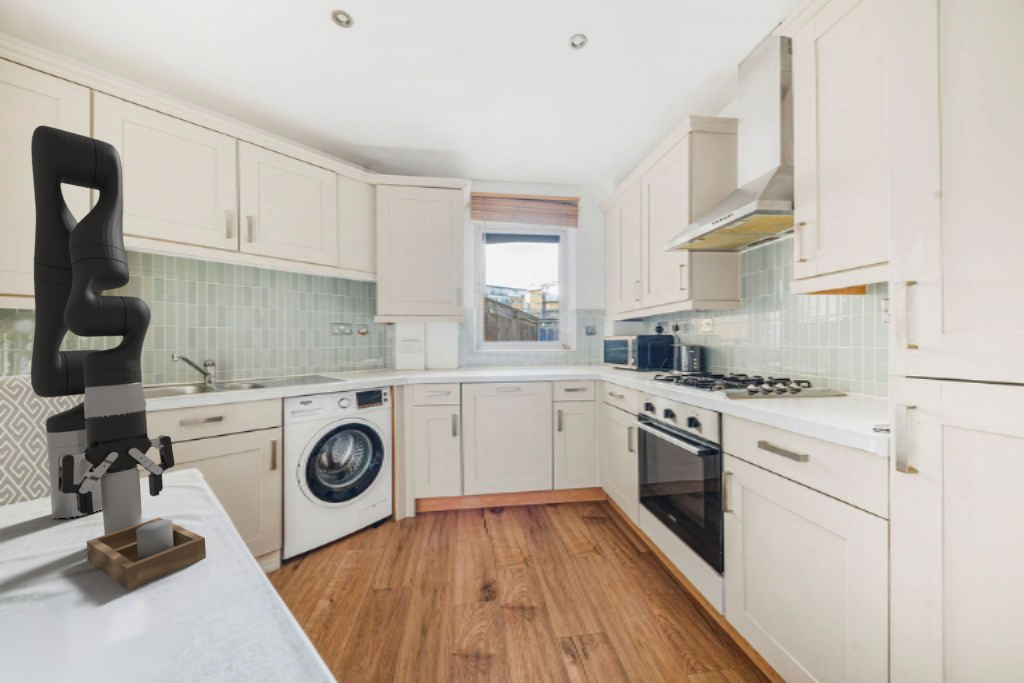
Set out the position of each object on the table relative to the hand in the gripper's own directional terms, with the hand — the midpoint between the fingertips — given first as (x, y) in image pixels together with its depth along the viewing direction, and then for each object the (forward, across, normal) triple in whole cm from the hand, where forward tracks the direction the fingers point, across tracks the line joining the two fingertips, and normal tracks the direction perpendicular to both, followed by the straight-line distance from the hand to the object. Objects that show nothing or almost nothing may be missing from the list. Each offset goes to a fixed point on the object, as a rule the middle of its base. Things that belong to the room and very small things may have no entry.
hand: (123, 504), depth 70 cm
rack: (+6, +1, +12) cm, 14 cm away
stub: (+6, +1, +16) cm, 18 cm away
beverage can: (+6, 0, -1) cm, 6 cm away
